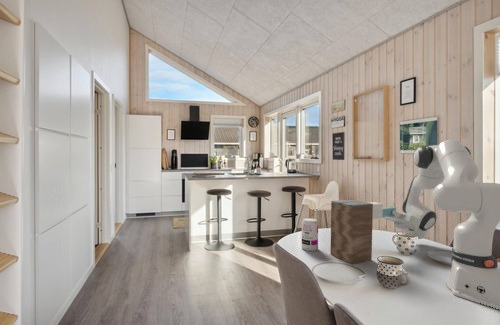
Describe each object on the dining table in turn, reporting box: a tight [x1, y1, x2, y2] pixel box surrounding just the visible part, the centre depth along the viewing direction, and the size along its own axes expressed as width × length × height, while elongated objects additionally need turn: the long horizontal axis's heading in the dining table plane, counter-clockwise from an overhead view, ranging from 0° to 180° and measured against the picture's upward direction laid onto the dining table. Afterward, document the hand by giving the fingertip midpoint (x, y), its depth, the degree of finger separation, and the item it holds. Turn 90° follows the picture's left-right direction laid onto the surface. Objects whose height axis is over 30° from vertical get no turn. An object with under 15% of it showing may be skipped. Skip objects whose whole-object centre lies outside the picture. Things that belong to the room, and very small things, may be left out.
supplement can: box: [301, 217, 319, 252], centre depth 152 cm, size 8×8×15 cm
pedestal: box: [329, 199, 374, 265], centre depth 140 cm, size 14×12×26 cm
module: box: [369, 201, 397, 220], centre depth 149 cm, size 5×19×7 cm, turn 116°
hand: (388, 210), depth 151 cm, fingers closed on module, 3 cm apart
